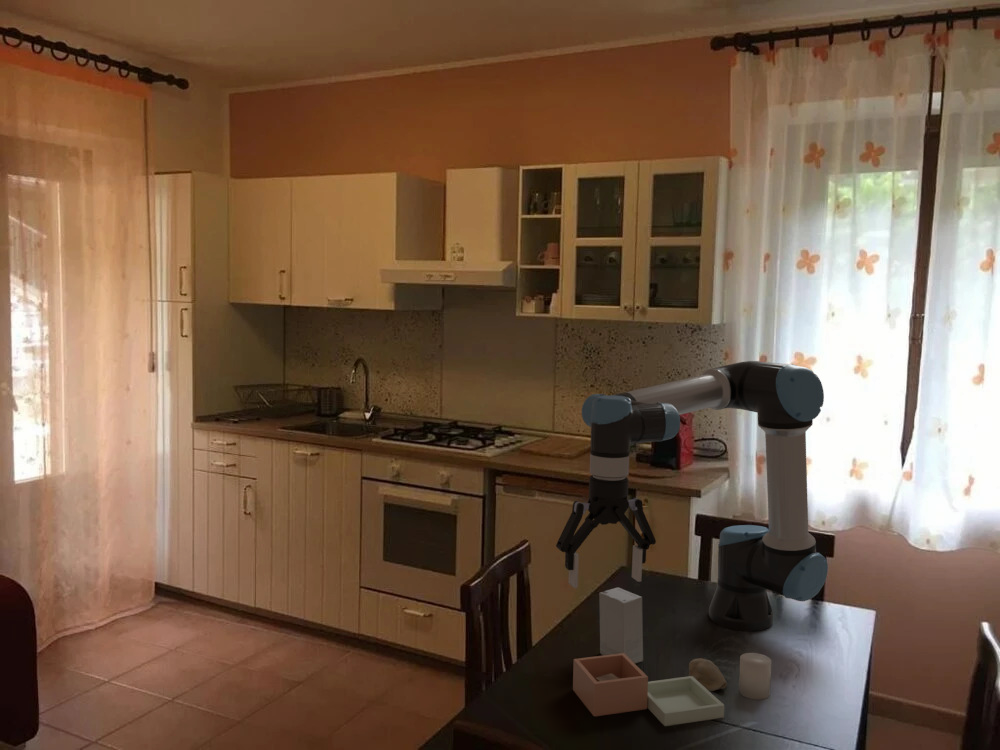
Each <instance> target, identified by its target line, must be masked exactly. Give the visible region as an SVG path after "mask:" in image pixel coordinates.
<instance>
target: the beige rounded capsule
mask: <svg viewBox="0 0 1000 750" xmlns="http://www.w3.org/2000/svg"><path fill="white" fill-rule="evenodd" d="M771 672H772V659H771V658H770V657H768V656H766V655H765V654H761V653H756V652H745V653H743V654H741V655H740V657H739V676H738V679H739V680H738V693H739V694H740V695H741V696H742V697H745V698H747V699H752V700H756V701H757V700H758V701H759V700H760V701H761V700H766V699H768V698H770V695H771V675H772V674H771Z"/></svg>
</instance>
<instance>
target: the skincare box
mask: <svg viewBox="0 0 1000 750" xmlns="http://www.w3.org/2000/svg"><path fill="white" fill-rule="evenodd" d="M598 594H599V597H598V598H599V651H600V655H601V656H603V655H612V654H620V653H625V654H626V655H627V656H628V657H629V658H630V659H631V660H632V661H633V662H634V663H635V664H638V663H640V662H643V661H644V641H643V637H644V636H643V633H644V632H643V631H644V630H643V596H640V595H638V594H636V593H632V592H631V591H629V590H625V589H623V588H621V587H615V588H611V589H607V590H603V591H601V592H599V593H598Z"/></svg>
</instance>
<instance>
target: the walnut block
mask: <svg viewBox="0 0 1000 750" xmlns="http://www.w3.org/2000/svg"><path fill="white" fill-rule="evenodd" d="M614 679H620V678H618V677H617V676H615V675H613V674H612V673H610V674H607V675H603V676H600V677H597V678H595V680H596V681H597V682H598V681H606V680H614Z"/></svg>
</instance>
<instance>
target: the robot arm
mask: <svg viewBox="0 0 1000 750" xmlns="http://www.w3.org/2000/svg"><path fill="white" fill-rule="evenodd" d="M824 393H825V392H824V387H823V383H822V381H821V380H820V378H819V376H818V375H817V374H816V373H815V372H814V371H813V370H811V369H810V368H808V367H805V366H799V365H797V364H790V363H780V362H778V363H777V362H769V361H768V362H766V361H759V360H747V361H741V362H737V363H736V362H735V363H730V364H726V365H722V366H717V367H713V368H709V369H707V370H705V371H704V372H703V373H702V374H701V375H697V376H693V377H689V378H683V379H681V380H679V379H678V380H675V381H671V382H670V381H669V382H666V383H661V384H658V385H657V384H655V385H652V386H648V387H644V388H639V389H634V390H630V391H626V392H620V393H616V394H615V393H614V394H611V395H609V394H608V395H607V394H605V393H595V394H593V393H592V394H591V395H588V397H587V398H586V399H585V400H584V401H583V404H582V407H581V417H582V420H583V422H584V423H585V424H586V426H587V427H589V428H590V450H589V451H590V454H589V474H590V476H589V480H588V481H589V482H588V496H589V498H588V501H587V502H580V501H578V500H574V501H573V503H572V511H571V513H570V515H569V518H568V519H567V522H566V524H565V525H564V528H563V530H562V531H561V534H560V536H559V538H558V540H557V543H556V544H555V546H556V548H557V549H558V550H559V551H561V552H562V553H564V555H565V557H564V560H565V562H564V567H565V569H567V571H568V584H569V585H570V586H571V587H572V588H574V589H577V588H579V586H578V585H579V560H580V557H579V555H580V554H578V553H577V551H578V549H579V548H581V546H582V544H583V543H584V542H585V541H586V539H587V538H588V537H589V536H590V535H591V533H592V532H593V531H594V529H596V528H598V526H599V525H600V524H601V525H603V526H604V525H608V524H612V525H617V524H618V523H620V525H621V527H623V529H625V531H626V532H627V534H628V535H629V536H630V537H631V538H632V540H633V541H634V542H635V543H636V544H635V545H632V556H631V557H632V560H631V561H632V562H631V578H632V579H634V580H635V581H636V582H639V583H640V582H642V577H643V576H642V573H643V564H646V562H647V550H649V548H650V545H655V544H656V543H657V540H656V538H655V535H654V533H653V530H652V528H651V526H650V524H649V521H648V520H647V517H646V514H645V513H644V512H645V511H644V507H643V506H644V505H643V501H642V499H640V498H638V497H635V496H633V497H632V498H630V499H628V495H629V478H628V476H629V474H630V454H631V452H630V451H631V445H633V444H641V443H642V444H643V443H653V442H658V443H659V442H663V441H668V440H671V439H673V438H675V437H676V436H677V434H678V433H679V430H680V427H681V417H680V416H681V415H684V414H689V413H692V412H693V413H694V412H698V411H701V410H706V409H712V410H714V411H720V410H724V409H734V410H736V409H737V410H744V411H749V412H753V413H757V425H758V427H759V428H761V430H763V431H764V433H765V460H766V461H765V462H766V465H765V466H766V486H767V487H766V489H767V491H766V492H767V514H768V515H767V516H768V517H767V518H768V527H766V526H762V525H754V524H753V525H752V524H743V525H742V524H741V525H739V524H738V525H731V526H728V527H724V528H723V529H722V530H721V531H720V532H719V533H720V534H719V540H718V551H717V552H718V555H717V556H718V557H717V559H718V560H717V586H716V589H715V591H714V594H713V597H712V599H711V602H710V604H709V608H708V617H709V618H710V620H711V621H712V622H713V623H715V624H717V625H719V626H721V627H724V628H726V629H731V630H735V631H736V630H737V631H742V632H744V631H745V632H755V631H764V630H766V629H768V628H770V627H771V626H772V625H773V621H774V618H773V617H774V613H773V609H772V605H771V602H770V598H769V595H768V591H770V592H773V593H774V594H775V593H776V594H777V595H778V594H779V595H781V596H783V597H784V598H786V599H789V600H790V599H792V600H794V601H797V602H807V601H810V600H812V599H813V598H814V597H815V596H816V595H818V594H819V593H820V591H821V590H822V588H823V586H824V584H825V582H826V580H827V578H828V577H827V576H828V574H829V573H828V569H829V565H828V564H829V563H828V561H827V559H826V558H825V556H823V555H822V554H821V553H820V552H817V543H816V542H817V541H816V538H815V537H814V536H813V535H812V534H811V533H809V511H808V510H809V509H808V508H809V507H808V478H807V477H808V475H807V468H808V467H807V440H806V439H807V438H806V437H807V435H806V432H807V431H808V430H809V429H810V428H811V427H812V426H813V421H814V420H815V419H816V418H817V417H818V416H819V415H820V413H821V411H822V410H821V408H823V407H824V402H825V401H824V400H825V399H824V398H825V394H824ZM628 509H630V510H632V513H633V516H634V518H635V520H636V523H637V525H638V526H639V527H638V528H639V529H640V531H641V534H642V535H641V534H640V532H639V531H638V530H637V528H636V527H635V526H634V525H633V524H632V522H631V520H630V519H629V518H628V517H627V515H626V514H625V513H626V512H627V510H628ZM587 510H588V512H589V513H588V514H587V516H586V517H585V518H584V522H583V523H582V524H581V525H580V523H581V521H582V518H583V515H584V514H586V511H587ZM579 525H580V527H579V528H578V526H579ZM767 590H768V591H767Z"/></svg>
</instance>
